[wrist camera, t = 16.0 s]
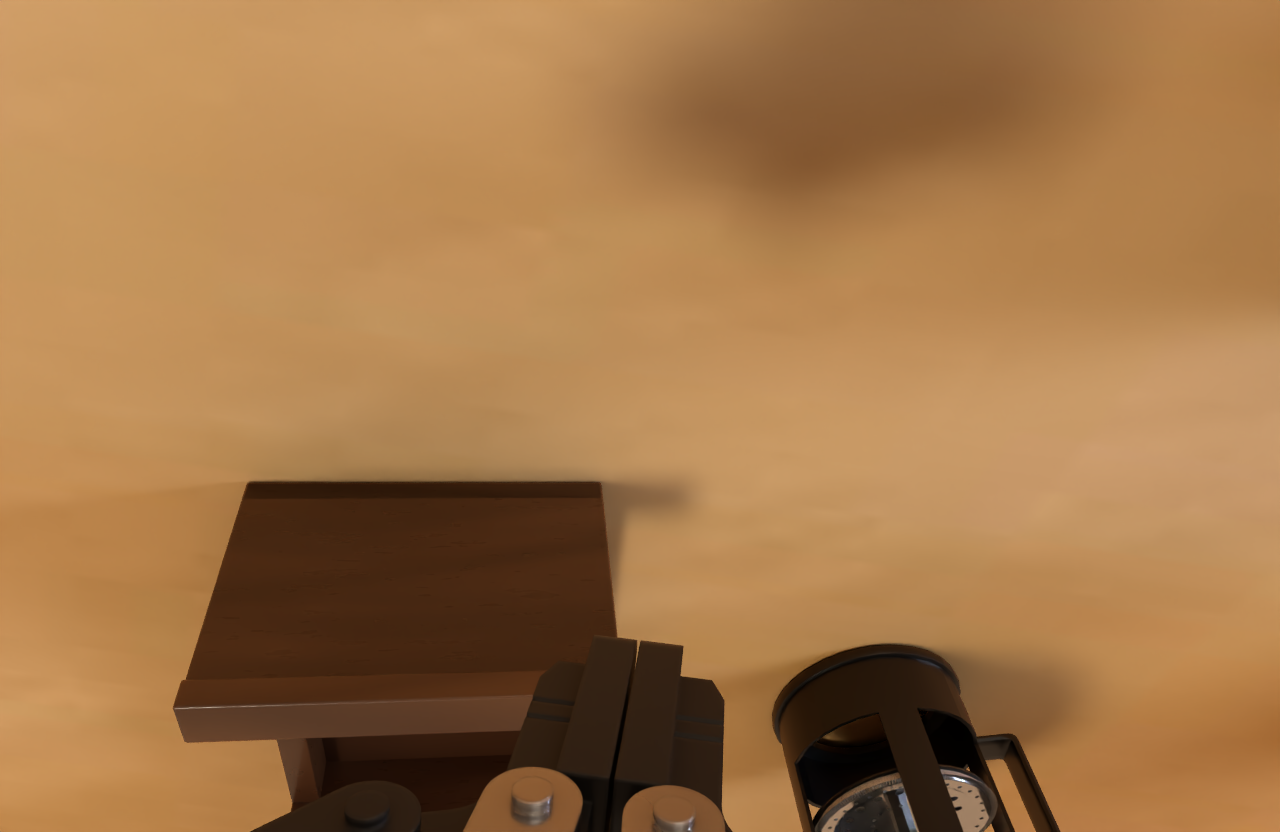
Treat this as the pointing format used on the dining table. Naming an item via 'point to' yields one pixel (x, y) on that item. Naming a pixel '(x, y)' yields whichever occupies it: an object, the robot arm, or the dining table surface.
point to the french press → (896, 749)
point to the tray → (396, 628)
